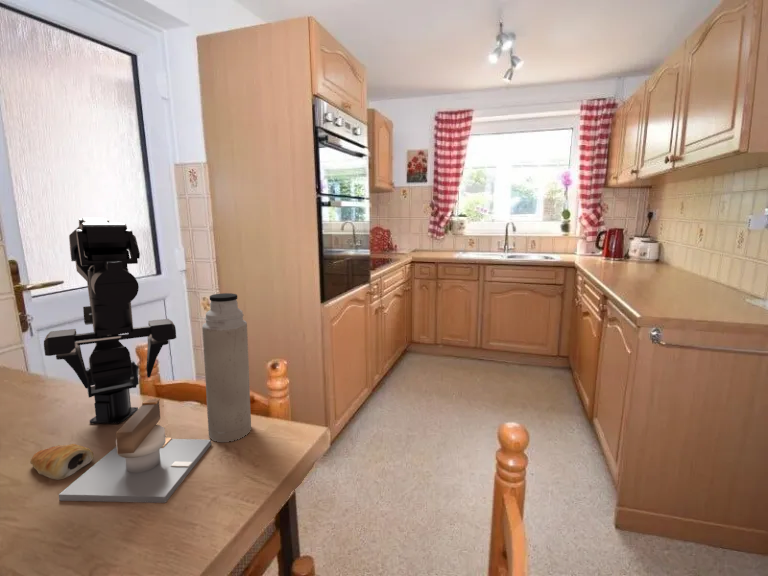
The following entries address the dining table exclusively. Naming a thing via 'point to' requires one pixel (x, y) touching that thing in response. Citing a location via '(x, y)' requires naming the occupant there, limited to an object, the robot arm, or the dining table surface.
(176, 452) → the plate
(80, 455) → the pastry
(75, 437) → the dining table surface
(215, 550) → the dining table surface
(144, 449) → the rotary knob
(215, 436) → the thermos bottle
